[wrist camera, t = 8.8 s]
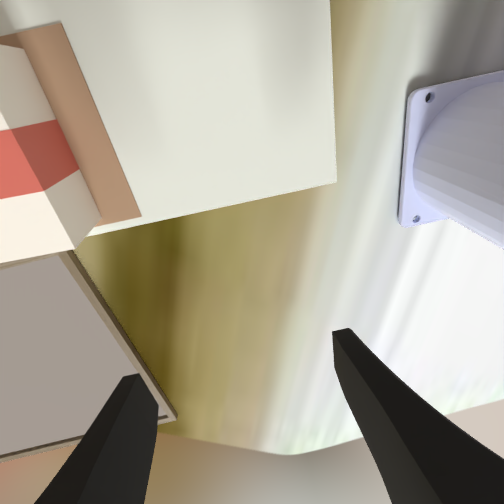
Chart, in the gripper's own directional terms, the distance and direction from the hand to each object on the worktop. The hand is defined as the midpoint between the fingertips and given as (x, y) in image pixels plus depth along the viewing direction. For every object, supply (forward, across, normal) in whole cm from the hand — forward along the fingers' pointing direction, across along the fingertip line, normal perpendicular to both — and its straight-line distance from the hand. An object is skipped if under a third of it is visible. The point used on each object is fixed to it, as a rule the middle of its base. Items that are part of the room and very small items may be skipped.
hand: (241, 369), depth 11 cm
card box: (+9, +9, -8) cm, 15 cm away
